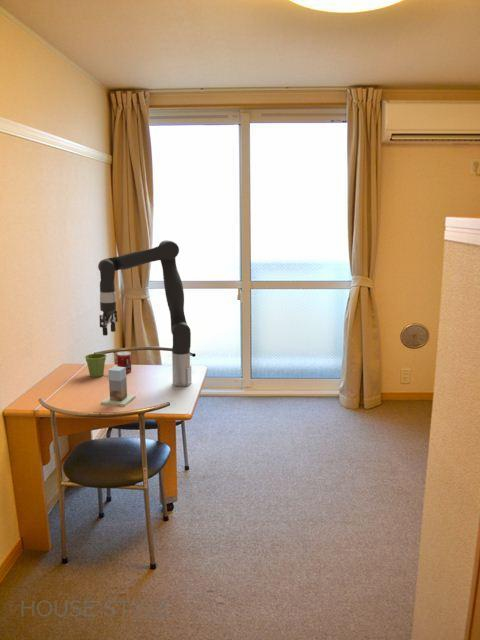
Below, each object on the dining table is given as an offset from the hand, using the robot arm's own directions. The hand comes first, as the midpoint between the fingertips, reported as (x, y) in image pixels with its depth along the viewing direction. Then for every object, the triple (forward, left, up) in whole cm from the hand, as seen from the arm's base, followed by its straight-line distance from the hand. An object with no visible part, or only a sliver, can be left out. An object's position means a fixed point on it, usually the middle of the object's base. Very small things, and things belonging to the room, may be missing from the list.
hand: (109, 333), depth 252 cm
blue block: (-9, +11, -19) cm, 24 cm away
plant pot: (+20, -22, -30) cm, 42 cm away
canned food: (+8, -32, -30) cm, 45 cm away
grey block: (-9, +11, -24) cm, 28 cm away
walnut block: (-9, +11, -29) cm, 32 cm away
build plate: (-9, +11, -30) cm, 33 cm away
